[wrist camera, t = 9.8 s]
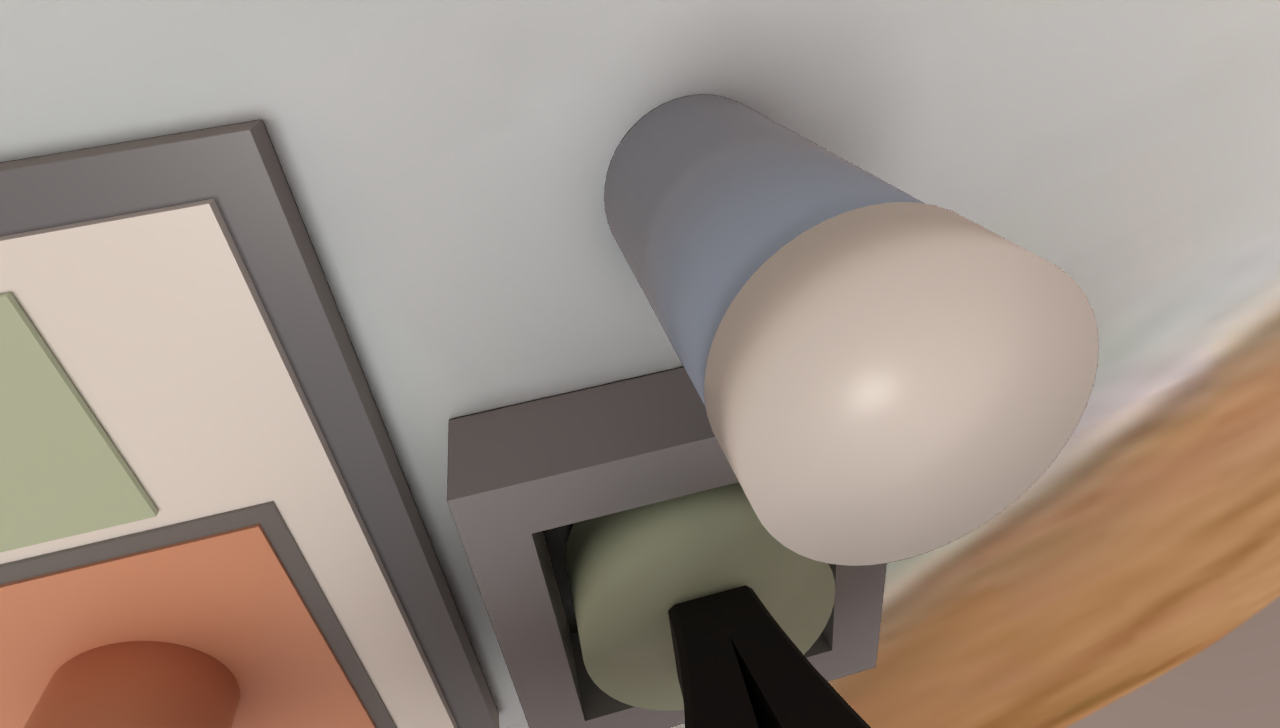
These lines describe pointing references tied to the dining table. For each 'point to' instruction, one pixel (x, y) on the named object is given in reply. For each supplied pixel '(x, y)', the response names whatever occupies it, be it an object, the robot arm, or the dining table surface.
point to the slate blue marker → (847, 333)
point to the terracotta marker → (139, 689)
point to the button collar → (589, 488)
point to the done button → (680, 585)
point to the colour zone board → (205, 447)
